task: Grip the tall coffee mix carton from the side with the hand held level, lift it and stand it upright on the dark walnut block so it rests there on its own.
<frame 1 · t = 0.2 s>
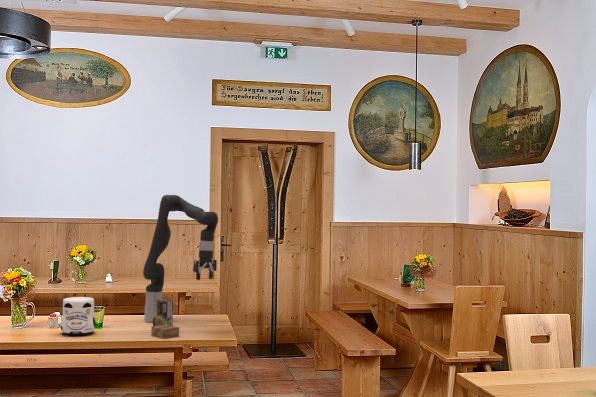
hand: (204, 279, 377), 28 cm above the table, tool pointing down, fingers open, 8 cm apart
coffee box: (162, 330, 381), on the table
milk container: (78, 334, 368), on the table
walnut block: (165, 336, 367), on the table
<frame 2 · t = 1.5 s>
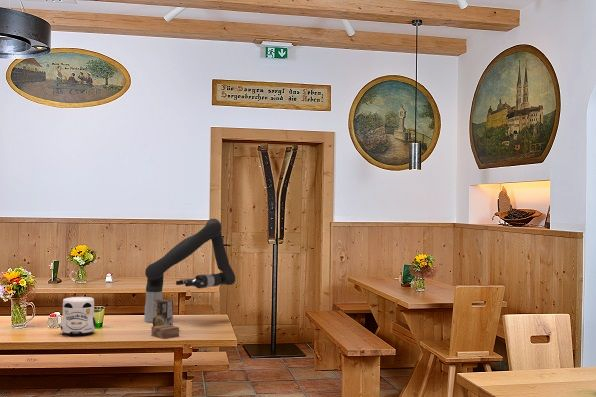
hand: (180, 283, 390), 24 cm above the table, tool horizontal, fingers open, 8 cm apart
nothing on the table moved.
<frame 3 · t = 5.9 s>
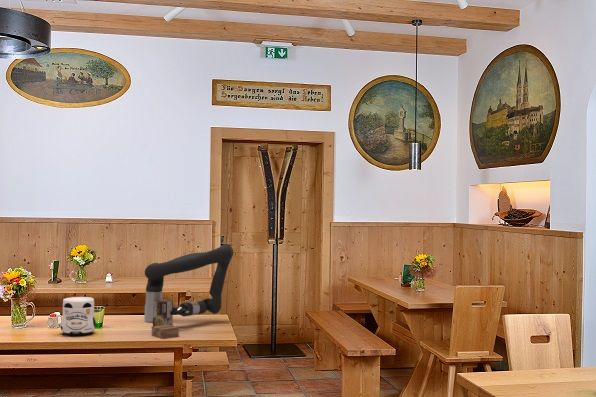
hand: (165, 312, 382), 10 cm above the table, tool horizontal, fingers open, 8 cm apart
coffee box: (162, 330, 381), on the table, touching gripper
everything else where it was.
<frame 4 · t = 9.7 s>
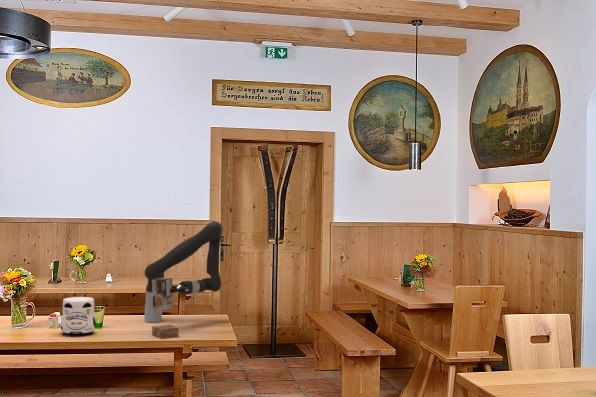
hand: (165, 290, 381), 22 cm above the table, tool horizontal, fingers closed on coffee box, 8 cm apart
coffee box: (163, 308, 381), point 12 cm above the table, touching gripper
everything else where it was.
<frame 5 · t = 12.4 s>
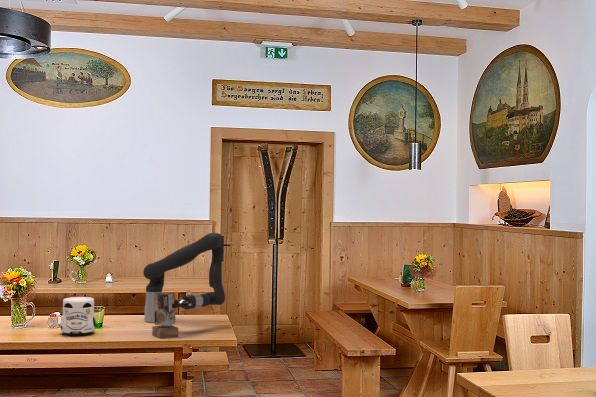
hand: (167, 305, 367), 16 cm above the table, tool horizontal, fingers closed on coffee box, 8 cm apart
coffee box: (165, 324, 366), point 6 cm above the table, touching gripper
everything else where it was.
when the fingers open (16 cm above the table, at t = 14.0 s): coffee box moves 2 cm, point 5 cm above the table.
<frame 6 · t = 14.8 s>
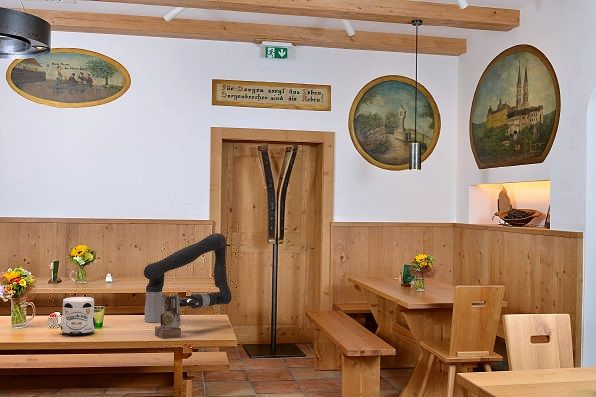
hand: (175, 303, 371), 16 cm above the table, tool horizontal, fingers open, 8 cm apart
coffee box: (170, 327, 367), point 5 cm above the table, touching gripper
walnut block: (167, 337, 366), on the table
everything else where it was.
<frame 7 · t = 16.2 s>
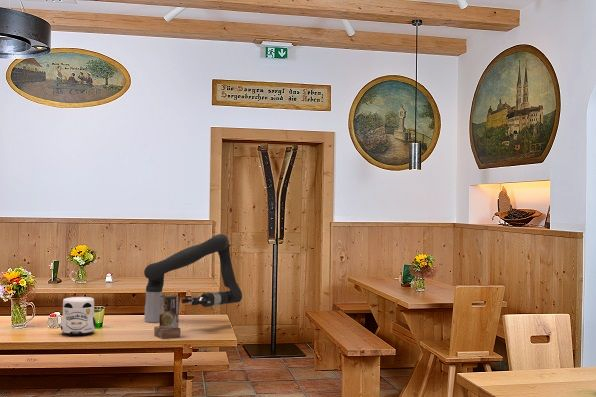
hand: (187, 302, 377), 16 cm above the table, tool horizontal, fingers open, 8 cm apart
coffee box: (168, 327, 366), point 4 cm above the table
everything else where it was.
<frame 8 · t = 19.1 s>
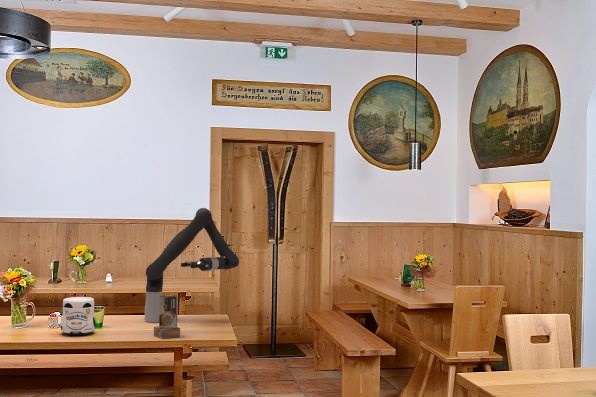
hand: (186, 265, 391), 34 cm above the table, tool horizontal, fingers open, 8 cm apart
coffee box: (168, 327, 366), point 4 cm above the table, touching walnut block
walnut block: (166, 337, 366), on the table, touching coffee box
everything else where it was.
at the end: coffee box 0.7 cm off-centre on the walnut block, point 4.9 cm above the walnut block's base; coffee box tilted 1°; the gripper is holding nothing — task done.
